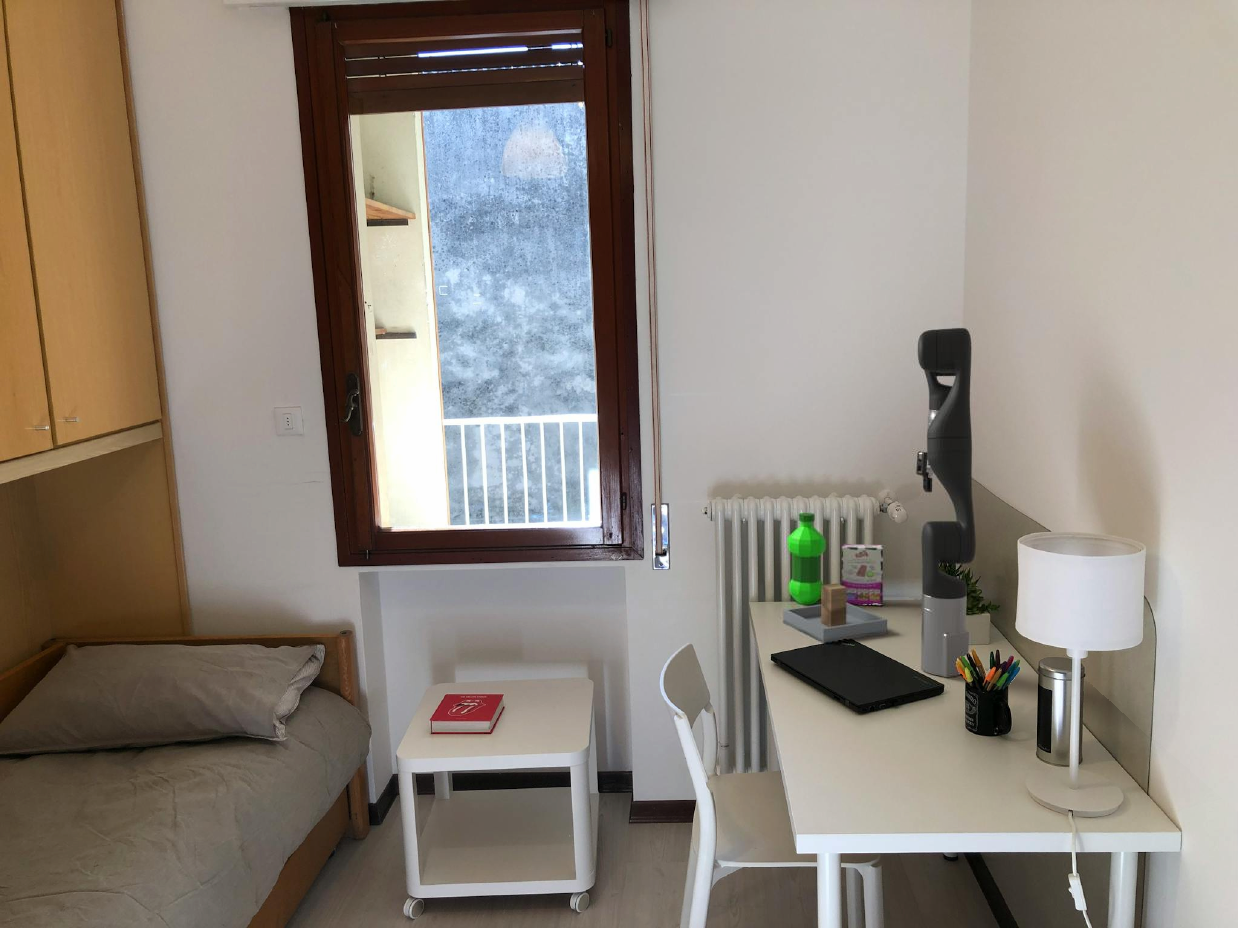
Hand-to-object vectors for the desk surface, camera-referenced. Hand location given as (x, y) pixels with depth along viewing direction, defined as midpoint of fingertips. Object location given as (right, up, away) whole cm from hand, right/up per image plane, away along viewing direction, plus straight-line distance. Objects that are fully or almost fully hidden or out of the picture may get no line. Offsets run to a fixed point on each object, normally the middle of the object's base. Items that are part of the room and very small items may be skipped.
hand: (941, 490), depth 240 cm
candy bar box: (-15, -32, +22) cm, 42 cm away
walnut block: (-28, -34, 0) cm, 44 cm away
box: (-28, -35, 0) cm, 45 cm away
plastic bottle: (-30, -32, +25) cm, 50 cm away
